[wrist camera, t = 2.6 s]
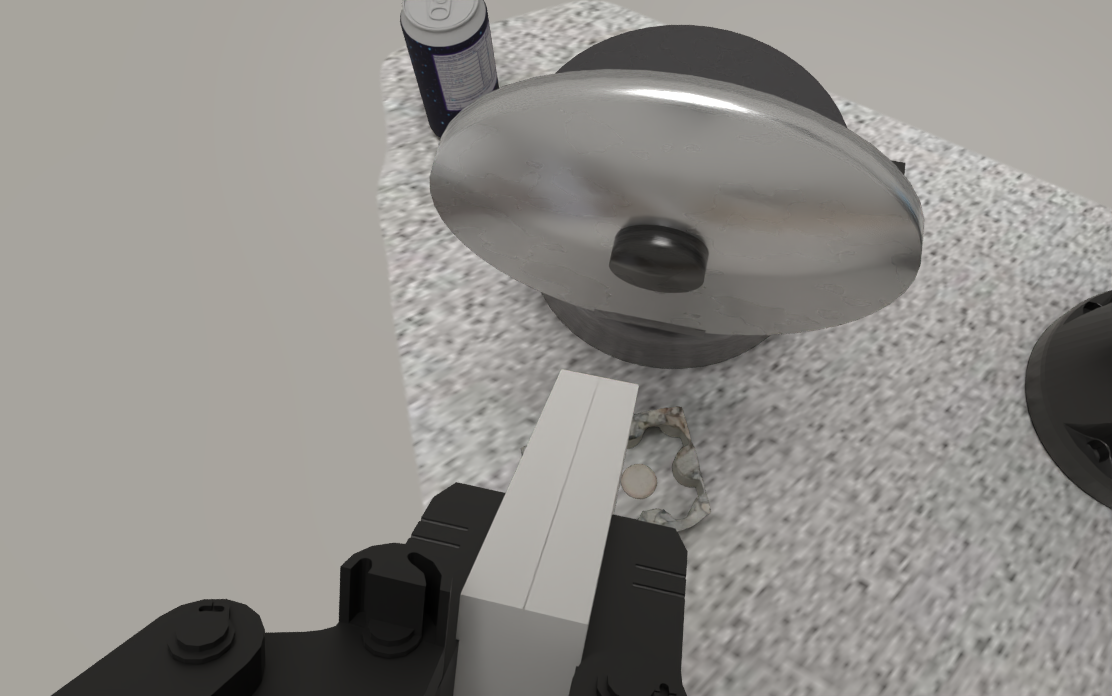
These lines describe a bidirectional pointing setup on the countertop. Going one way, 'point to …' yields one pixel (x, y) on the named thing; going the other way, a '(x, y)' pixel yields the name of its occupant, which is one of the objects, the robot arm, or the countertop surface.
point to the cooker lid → (678, 203)
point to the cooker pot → (710, 59)
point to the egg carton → (685, 467)
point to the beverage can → (449, 55)
